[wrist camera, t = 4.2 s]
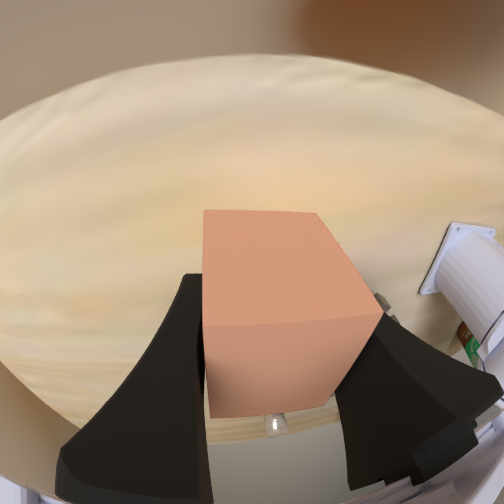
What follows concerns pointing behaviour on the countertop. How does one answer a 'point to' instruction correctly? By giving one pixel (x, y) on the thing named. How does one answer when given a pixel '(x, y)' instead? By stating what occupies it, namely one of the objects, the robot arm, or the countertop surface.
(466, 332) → the food container
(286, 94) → the countertop surface
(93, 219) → the countertop surface
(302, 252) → the link block
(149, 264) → the countertop surface
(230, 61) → the countertop surface
